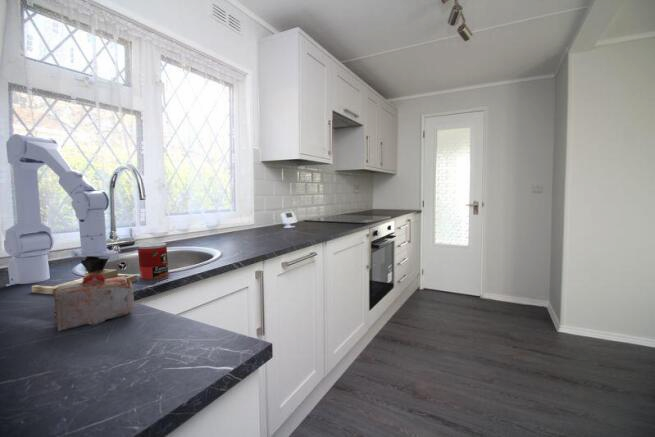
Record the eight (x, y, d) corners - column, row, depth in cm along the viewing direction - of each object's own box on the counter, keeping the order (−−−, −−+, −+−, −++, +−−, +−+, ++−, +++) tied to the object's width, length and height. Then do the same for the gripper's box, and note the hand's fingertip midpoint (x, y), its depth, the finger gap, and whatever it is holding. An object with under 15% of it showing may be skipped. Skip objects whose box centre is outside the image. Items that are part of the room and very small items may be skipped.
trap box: (32, 296, 85) (31, 286, 84) (88, 280, 99) (87, 271, 99) (86, 302, 79) (85, 291, 79) (137, 284, 94) (136, 275, 94)
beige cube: (90, 289, 86) (89, 273, 85) (106, 284, 90) (104, 268, 90) (103, 290, 85) (101, 274, 84) (118, 285, 89) (117, 269, 89)
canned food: (157, 283, 94) (154, 247, 93) (134, 282, 96) (131, 246, 95) (174, 276, 102) (172, 242, 101) (152, 275, 103) (150, 242, 102)
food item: (129, 306, 76) (126, 266, 75) (137, 315, 71) (133, 272, 70) (55, 323, 67) (50, 277, 66) (56, 335, 61) (51, 286, 60)
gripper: (57, 236, 85) (62, 285, 86) (99, 238, 81) (103, 290, 82) (84, 232, 92) (88, 278, 93) (124, 234, 88) (127, 282, 89)
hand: (97, 283), depth 88 cm, fingers closed, pressing on beige cube
